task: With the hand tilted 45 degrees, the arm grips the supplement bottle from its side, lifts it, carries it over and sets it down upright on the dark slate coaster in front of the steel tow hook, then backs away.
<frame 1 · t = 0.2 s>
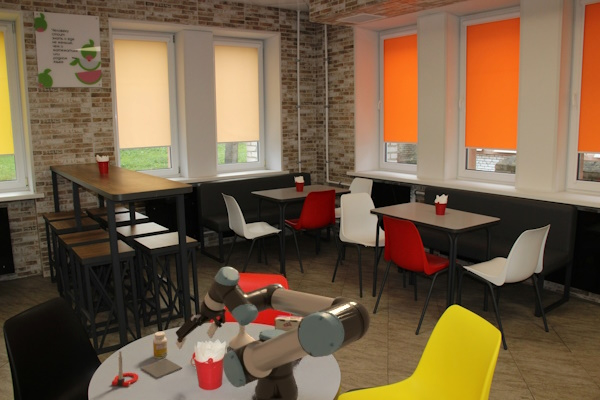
hand: (194, 340, 199), 16 cm above the table, tool tilted 35°, fingers open, 13 cm apart
candy bar box: (289, 356, 222), on the table
coaster: (161, 369, 211), on the table
flower in vase: (240, 347, 230), on the table
tow hook: (125, 381, 202), on the table
supplement bottle: (160, 356, 222), on the table
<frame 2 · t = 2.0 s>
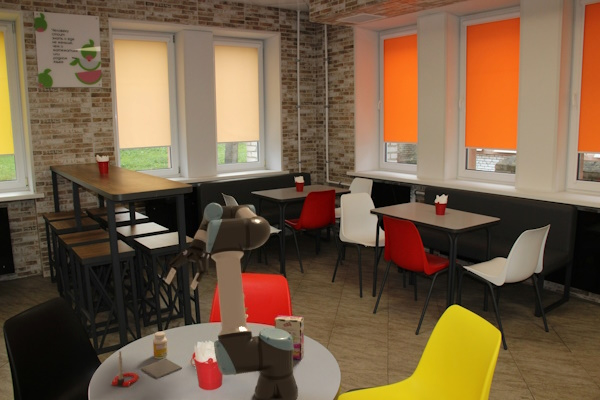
hand: (179, 285, 228), 26 cm above the table, tool tilted 45°, fingers open, 13 cm apart
nothing on the table moved.
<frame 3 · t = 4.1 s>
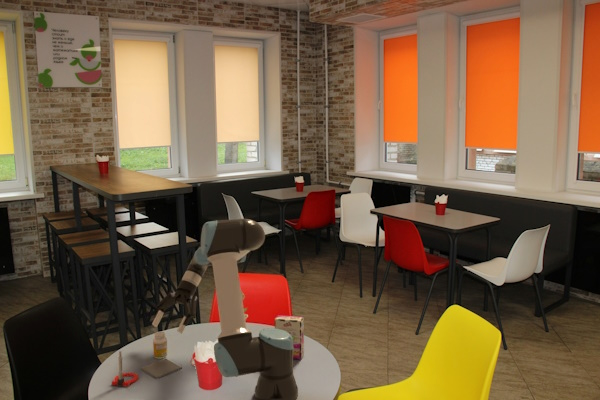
hand: (166, 329, 225), 10 cm above the table, tool tilted 45°, fingers open, 13 cm apart
nothing on the table moved.
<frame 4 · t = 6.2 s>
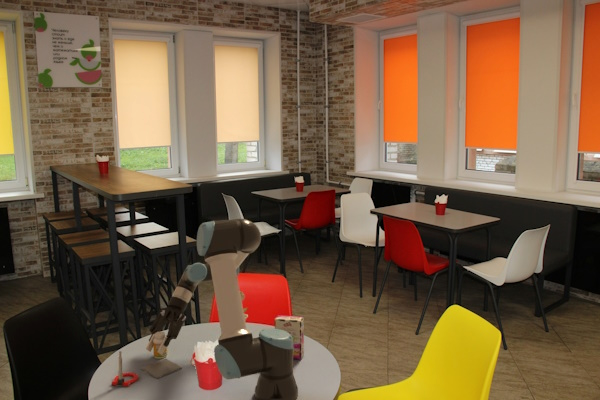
hand: (153, 351, 218), 3 cm above the table, tool tilted 45°, fingers closed on supplement bottle, 5 cm apart
supplement bottle: (160, 356, 222), on the table, touching gripper
everything else where it was.
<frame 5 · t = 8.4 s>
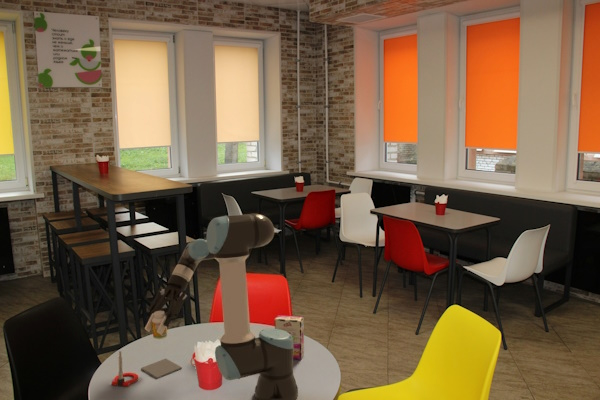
hand: (153, 331, 207), 16 cm above the table, tool tilted 45°, fingers closed on supplement bottle, 5 cm apart
supplement bottle: (160, 337, 210), point 12 cm above the table, touching gripper
everything else where it was.
when the fingers open (5 cm above the table, at t = 10.9 s): supplement bottle drops 1 cm, resting on coaster.
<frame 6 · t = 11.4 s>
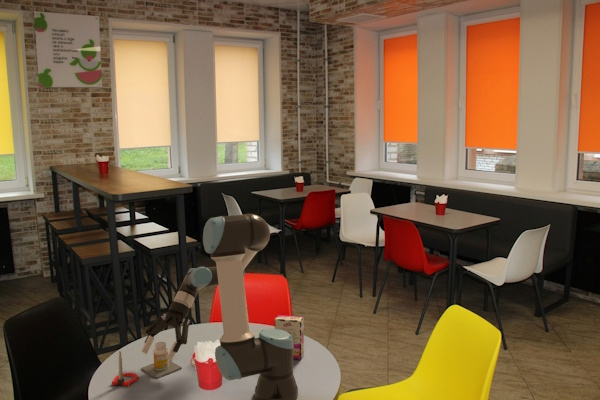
hand: (156, 356, 207), 6 cm above the table, tool tilted 45°, fingers open, 12 cm apart
supplement bottle: (161, 367, 211), resting on coaster
everything else where it was.
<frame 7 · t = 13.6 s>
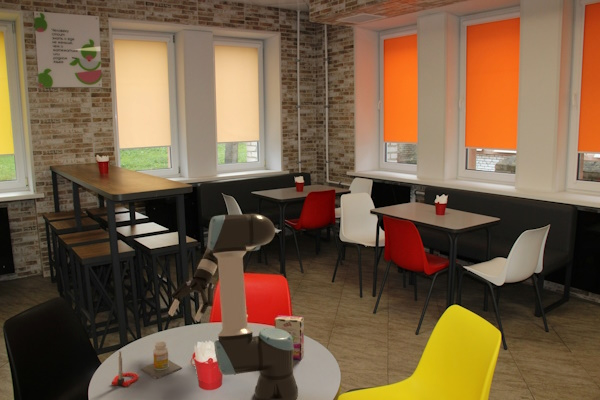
hand: (183, 317, 221), 16 cm above the table, tool tilted 45°, fingers open, 13 cm apart
nothing on the table moved.
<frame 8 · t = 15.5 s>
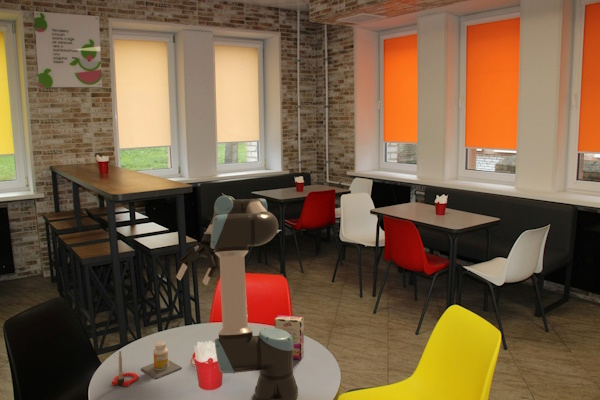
hand: (191, 281, 223), 30 cm above the table, tool tilted 45°, fingers open, 13 cm apart
nothing on the table moved.
at the end: supplement bottle inside the target area on the coaster (0.1 cm from its centre), point 0.4 cm above the coaster's base; supplement bottle tilted 0°; the gripper is holding nothing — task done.
